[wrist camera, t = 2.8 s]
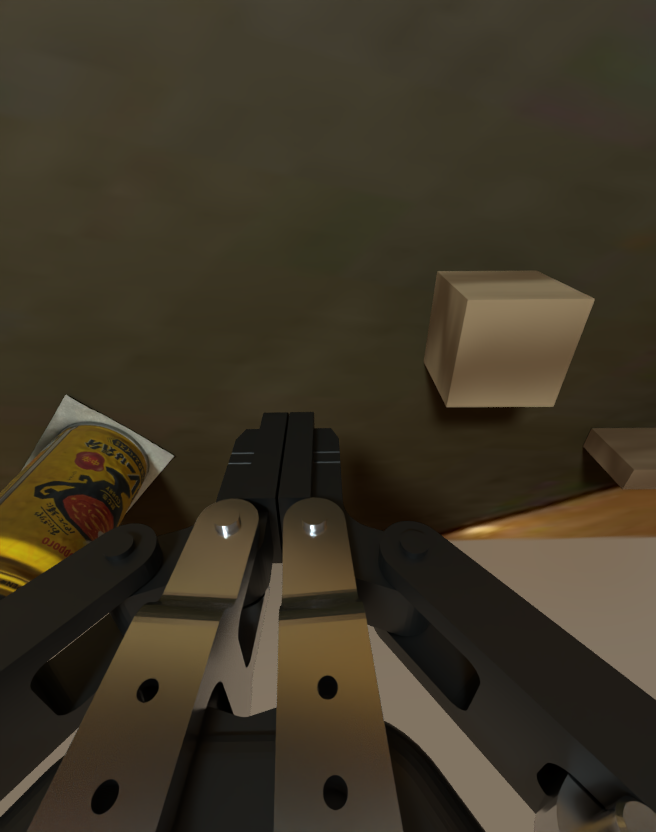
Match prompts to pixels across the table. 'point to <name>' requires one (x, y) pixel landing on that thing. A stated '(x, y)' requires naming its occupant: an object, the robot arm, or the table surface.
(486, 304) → the block
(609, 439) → the wooden plank
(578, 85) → the table surface
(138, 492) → the condiment
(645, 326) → the table surface
